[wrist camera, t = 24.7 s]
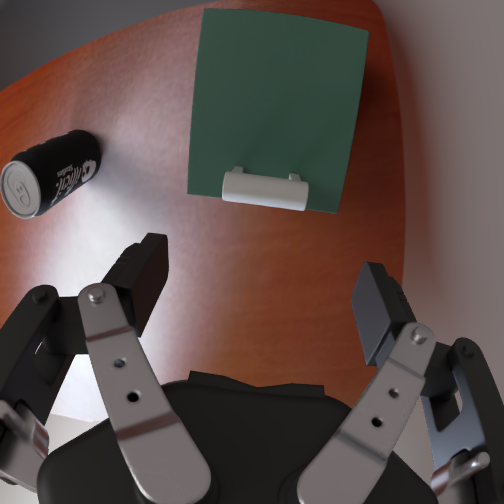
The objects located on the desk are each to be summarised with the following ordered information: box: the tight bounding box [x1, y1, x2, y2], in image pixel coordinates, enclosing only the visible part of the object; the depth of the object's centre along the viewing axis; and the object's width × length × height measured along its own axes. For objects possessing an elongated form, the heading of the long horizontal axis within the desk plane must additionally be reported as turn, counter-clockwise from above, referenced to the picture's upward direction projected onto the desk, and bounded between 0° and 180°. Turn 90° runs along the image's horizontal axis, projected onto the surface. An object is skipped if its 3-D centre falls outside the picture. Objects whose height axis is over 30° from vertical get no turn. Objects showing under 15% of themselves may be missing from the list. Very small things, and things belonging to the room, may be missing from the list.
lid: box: [187, 9, 369, 214], centre depth 18 cm, size 14×12×6 cm
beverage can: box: [0, 130, 101, 219], centre depth 27 cm, size 7×7×12 cm
